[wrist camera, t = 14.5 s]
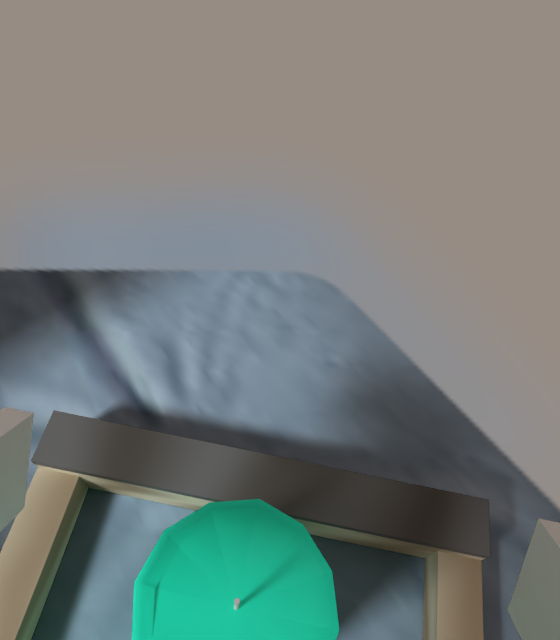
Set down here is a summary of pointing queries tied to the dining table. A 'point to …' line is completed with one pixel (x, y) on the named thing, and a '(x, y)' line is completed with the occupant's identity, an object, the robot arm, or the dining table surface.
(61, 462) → the rectangular wooden frame
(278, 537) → the candle
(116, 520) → the dining table surface
